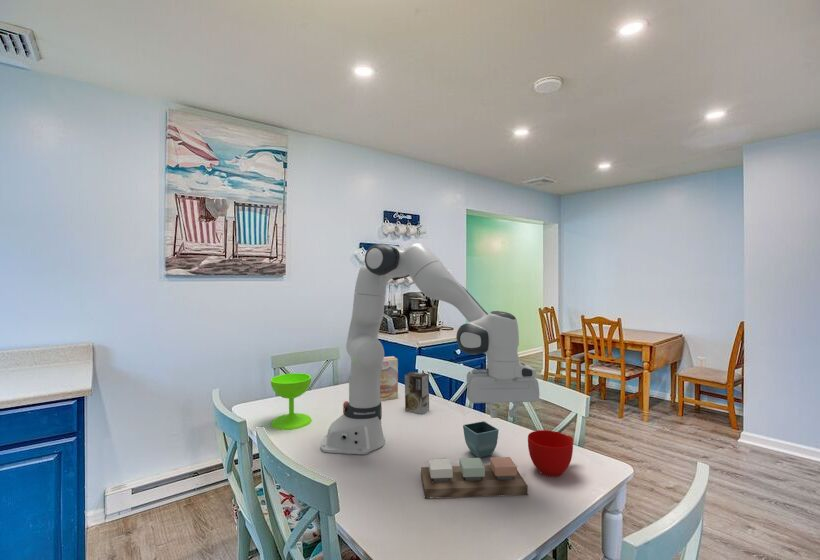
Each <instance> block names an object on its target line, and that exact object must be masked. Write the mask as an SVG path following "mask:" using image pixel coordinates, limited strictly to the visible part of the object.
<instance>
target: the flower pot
mask: <svg viewBox="0 0 820 560" xmlns="http://www.w3.org/2000/svg"><path fill="white" fill-rule="evenodd" d="M462 428H463V435H464V436H463V437H464V441H465V443H466V446H467V448H468V450H469V452H470V453H472V454H473V455H474V456H475V457H476V458H480V459H481V458H484V457H488V456H491V455H492V454H493V453H494V451H495V449H496V448H497V444H498V438H499V430H500V429H499V428H497V427H495V426H494V425H492V424H489V423H488V422H487V421H485V420H482V421H477V422H471V423H466V424H463V425H462Z"/></svg>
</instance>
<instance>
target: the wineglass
mask: <svg viewBox="0 0 820 560" xmlns="http://www.w3.org/2000/svg"><path fill="white" fill-rule="evenodd" d="M311 382H312V375H310V374H308V373H303V372H302V373H300V372H297V373H291V372H290V373H285V374H280V375H278V374H277V375H275V376H273V377H271V378H270V386H271V388H272V390H273V392H274V393H275V394H276V395H277V396H279V397H281V398H283V399H288V413H287V414H283V415H280V416H277V417H276V418H273V420H272V421H271V422H270V426H271V428H273V429H275V430H283V431H289V430H296V429H301V428H305V427H307V426H309V425H310V424H311V423H312V422H313V421H312V420H313V419H312V417H311V416H310V415H308V414H305V413H297V412H296V413H295V399H296V398H299V397H301V396H302V395H304V394H305V393H306V392H307V390H308V389H309V387H310V385H311Z"/></svg>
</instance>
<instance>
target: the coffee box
mask: <svg viewBox="0 0 820 560" xmlns="http://www.w3.org/2000/svg"><path fill="white" fill-rule="evenodd" d="M429 379H430V374H429V373H425V372H424V373H423V372H417V371H410V372H408V373H406V374H404V402H405V403H404V404H405V405H404V406H405V408H404V409H405V410H404V411H405V412H409V413H413V414H414V413H415V414H418V415H420V414H421V415H423V414H425V413H427V412H430V380H429Z"/></svg>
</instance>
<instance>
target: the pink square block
mask: <svg viewBox="0 0 820 560" xmlns="http://www.w3.org/2000/svg"><path fill="white" fill-rule="evenodd" d="M489 465H490V467H491V469H492V471H493V474H494V475H495V477H496V479H497V480H506V479H513V476H515V475H517V470H518V468H517V467H518V466H517V465H516V463H515V462H514V461H513V459H512V457H510V456H500V457H499V456H498V457H497V456H496V457H495V456H494V457H489Z"/></svg>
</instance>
